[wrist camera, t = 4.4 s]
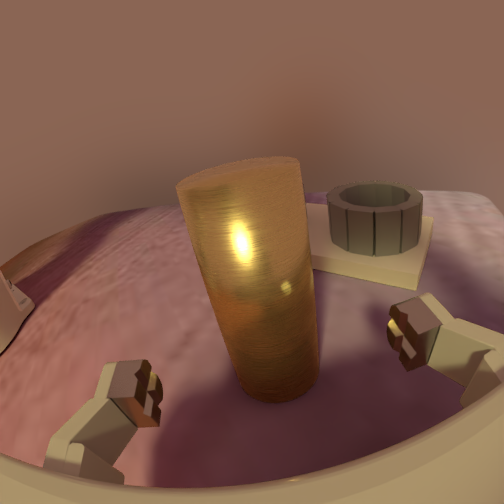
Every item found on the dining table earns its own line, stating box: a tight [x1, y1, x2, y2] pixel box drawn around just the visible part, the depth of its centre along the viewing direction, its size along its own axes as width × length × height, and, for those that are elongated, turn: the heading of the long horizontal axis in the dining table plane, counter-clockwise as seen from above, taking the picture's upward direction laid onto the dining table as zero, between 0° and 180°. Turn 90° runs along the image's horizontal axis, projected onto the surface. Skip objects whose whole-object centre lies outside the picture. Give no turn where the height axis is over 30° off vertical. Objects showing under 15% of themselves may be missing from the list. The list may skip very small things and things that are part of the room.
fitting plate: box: [302, 181, 434, 291], centre depth 29 cm, size 22×12×6 cm, turn 52°
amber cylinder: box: [176, 156, 319, 403], centre depth 14 cm, size 5×5×12 cm
